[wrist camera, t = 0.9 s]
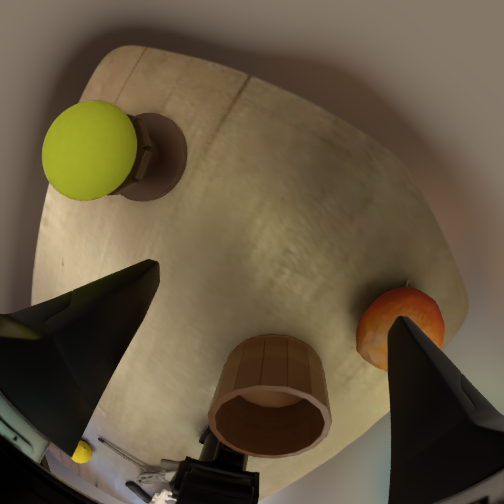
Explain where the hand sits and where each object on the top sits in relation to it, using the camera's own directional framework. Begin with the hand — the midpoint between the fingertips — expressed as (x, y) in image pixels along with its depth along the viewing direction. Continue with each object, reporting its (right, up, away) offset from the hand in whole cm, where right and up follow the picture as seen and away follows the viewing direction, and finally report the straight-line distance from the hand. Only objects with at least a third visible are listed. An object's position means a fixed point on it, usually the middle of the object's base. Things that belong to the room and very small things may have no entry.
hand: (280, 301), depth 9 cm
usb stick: (-26, -52, +31) cm, 66 cm away
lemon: (-36, -36, +28) cm, 58 cm away
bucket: (+1, -11, +17) cm, 20 cm away
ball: (-11, +8, +5) cm, 15 cm away
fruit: (+12, -4, +15) cm, 19 cm away
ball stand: (-11, +10, +13) cm, 20 cm away
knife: (-15, -38, +23) cm, 47 cm away
